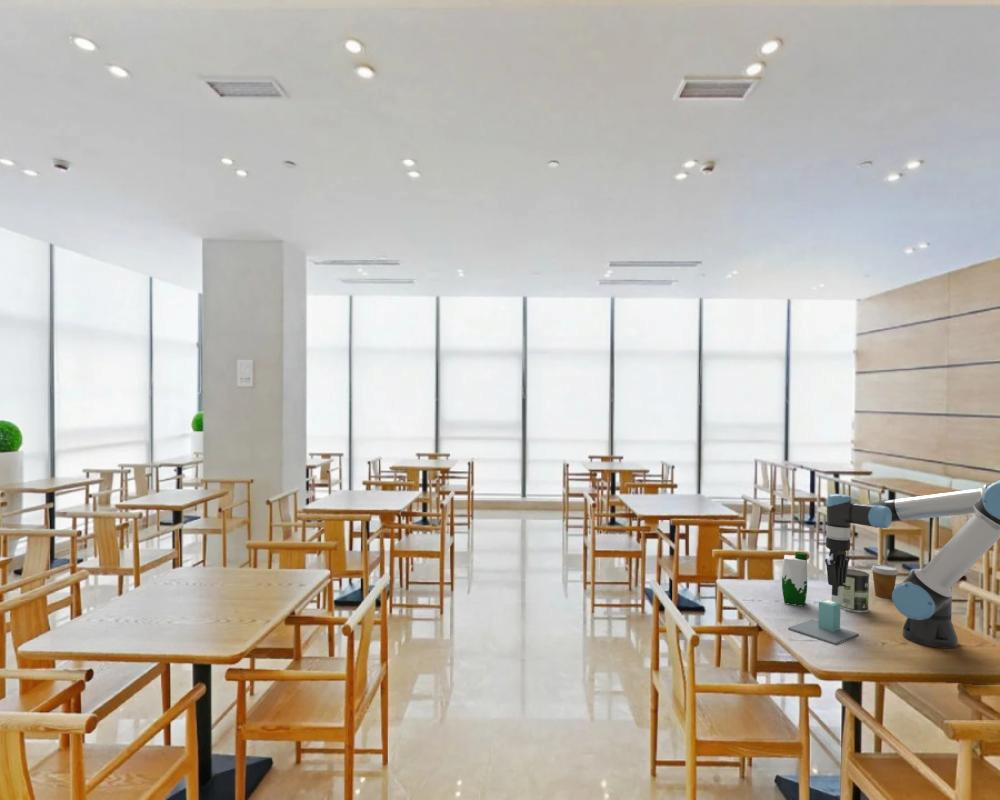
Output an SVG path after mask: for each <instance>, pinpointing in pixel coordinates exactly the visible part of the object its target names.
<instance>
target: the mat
mask: <svg viewBox="0 0 1000 800" xmlns="http://www.w3.org/2000/svg"><path fill="white" fill-rule="evenodd" d="M789 629H790V631H792V630H793V631H792V632H796V633H799V634H801V635H805V636H806V637H807V636H808V637H811V638H813V637H814V638H813V639H816V638H817V640H819V639H821V640H820V641H823V640H824V641H823V642H825V643H830V644H832V645H835V644H836V645H838V644H841V643H842V641H843V642H845V641H844V640H846V641H848V640H850V639H853V638H855V637H857V635H858V636H859V632H857V631H856V632H855V631H852V630H849V629H847V628H846V629H845V628H842V627H840V629H839V630H837V631H834V632H831V631H828V630H825V629H822V628H819V627H818V620H816V619H812V618H811V619H809V620H806V621H803V622H800V623H796V624H795V625H792V626H791V625H790V626H788V627H787V630H789ZM852 637H853V638H852ZM849 638H850V639H849ZM847 639H848V640H847ZM840 642H841V643H840Z"/></svg>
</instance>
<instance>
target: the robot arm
mask: <svg viewBox="0 0 1000 800" xmlns="http://www.w3.org/2000/svg"><path fill="white" fill-rule="evenodd" d="M970 514H973V515H972V516H970V517H969V519H968V520H967V521H966V522H965V523H964V524H963V526H961V527H960V529H959V530H958V531H957V532H956V533H955V534H954V535H953V536H952V537H951V538H950V540H948V542H947V543H945V545H944V546H943V547H942V548H941V549H940V550H939V551H938V553H936V554H935V556H934V557H933V558H931V560H930V561H929V562H928V563H927V564H926V565H925V566H924V567H923V568H912V569H910V571H909V575H908V576H907V577H906V578H905V579H904V580H903V581H902V582H900V583H899V584H897V585H895V587H894V590H893V593H892V598H891V599H892V602H893V605H894V606H895V608H896V609H897V611H898V612H899V613H900V614H901V615H903V616H904V617H906V620H905V622H904V625H903V627H902V636H903V637H904V638H906V639H907V640H909V641H911V640H912V641H911V642H913V641H914V642H913V643H917V644H919V643H920V645H923V646H927V647H933V648H940V649H954V648H957V647H958V645H959V643H958V642H959V640H958V636H957V633H956V629H955V627H954V625H953V622H952V613H953V612H952V609H953V607H952V605H953V604H952V603H953V586H954V585H955V584H956V583H957V582H958V581H959V580H960V579H961V578H963V576H964V575H965V574H966V573H967V572H968V571H969V570H970V569H971V568H972V567H973V566H974V565H975V564H976V563H977V562H978V561H979V560H981V558H982V557H983V556H984V555H985V554H986V553H987V552H988V551H989V550H990V548H992V546H994V544H996V543H997V542H998V540H1000V479H999V480H996V481H994V482H992V483H985V484H984V485H983V487H980V488H974V489H973V488H972V489H966V490H965V489H964V490H957V491H949V492H941V493H934V494H926V495H917V496H911V497H910V496H909V497H902V498H896V499H889V500H888V499H884V500H878V501H877V502H871V503H865V502H856V501H853V500H852V496H850V495H848V494H844V493H843V494H842V493H831V494H828V496H827V500H826V526H825V529H826V538H825V547H826V548H827V549H829V552H828V556H829V557H828V558H825V559H824V562H825V565H826V575H827V583H828V585H829V586H831V601H834V602H837V603H841V601H842V586H844V587H845V584H843V583H846V576H847V569H849V562H850V558H851V557H850V555H847V552H849V551H850V550H851V540H850V539H851V535H852V534H851V532H852V531H851V529H852V528H851V527H852V524H853V525H854V524H855V525H860V526H861V525H862V526H866V527H872V528H876V529H888V528H889V527H890V525H891V524H892V522H901V521H910V520H921V519H931V518H941V517H950V516H961V515H970Z"/></svg>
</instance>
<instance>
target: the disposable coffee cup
mask: <svg viewBox="0 0 1000 800" xmlns="http://www.w3.org/2000/svg"><path fill="white" fill-rule="evenodd" d="M870 569H871V571H872V578H873V579H872V580H873V586H874V587H873V588H874V595H875V596H877V597H879V598H884V599H892V593H893V590H894V589H895V587H896V581H897V575H898V573H899V572H898V570H897V568H896V567H894V566H890V565H886V564H873V565H872V567H871V568H870Z"/></svg>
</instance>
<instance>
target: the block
mask: <svg viewBox="0 0 1000 800" xmlns="http://www.w3.org/2000/svg"><path fill="white" fill-rule="evenodd" d="M840 605H841V603H837V602H834V601H832V600H830V599H824V600H819V601H818V618H817V619H818V620H817V621H818V627H819V628H822V629H825V630H828V631H831V632H834V631H837V630H839V629H840V628H841V608H840Z"/></svg>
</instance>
